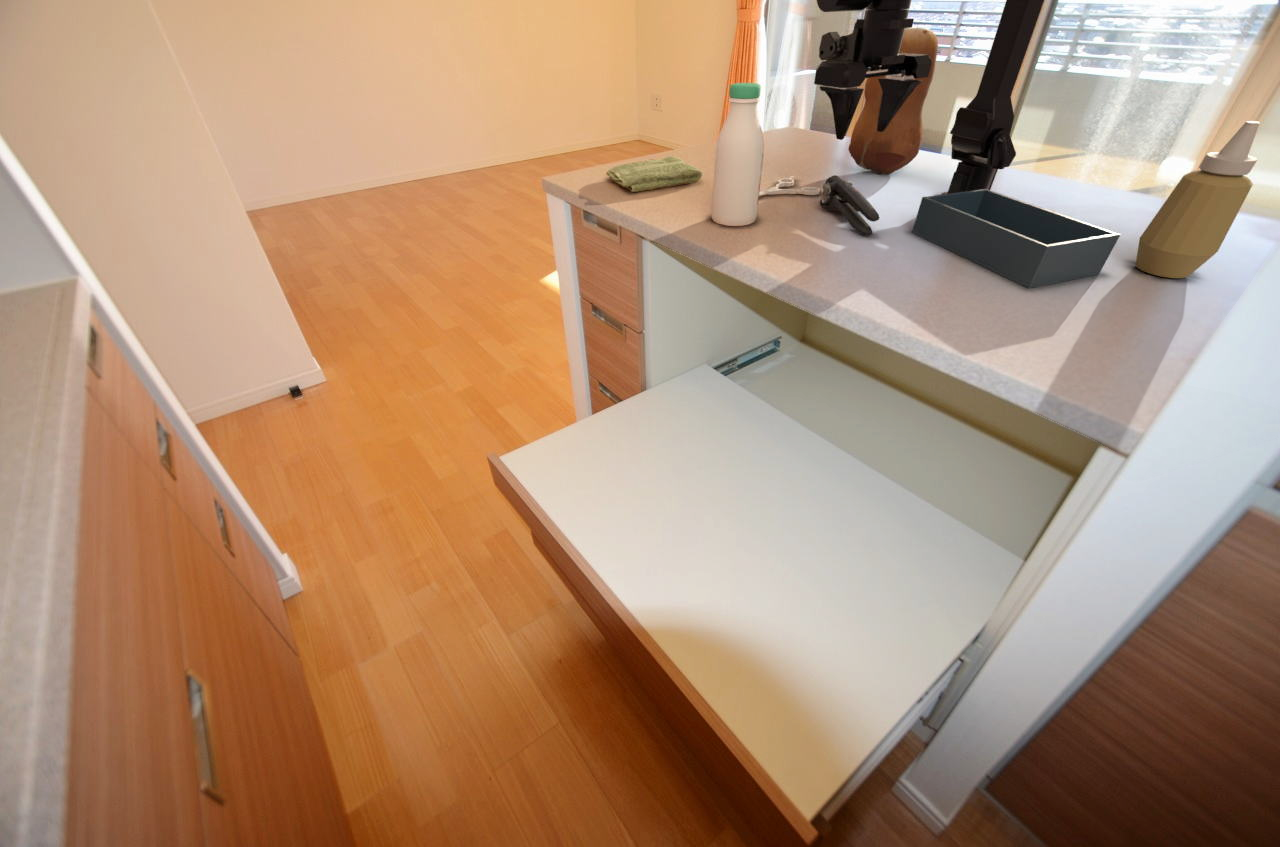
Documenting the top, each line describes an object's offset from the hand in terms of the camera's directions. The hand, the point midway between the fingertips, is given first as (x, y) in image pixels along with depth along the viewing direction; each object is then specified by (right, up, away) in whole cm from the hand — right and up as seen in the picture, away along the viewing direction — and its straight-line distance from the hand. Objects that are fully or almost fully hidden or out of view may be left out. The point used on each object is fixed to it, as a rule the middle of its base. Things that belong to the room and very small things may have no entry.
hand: (860, 135), depth 84 cm
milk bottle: (-18, -10, +9) cm, 23 cm away
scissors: (-9, -1, +20) cm, 22 cm away
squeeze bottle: (+37, -24, -11) cm, 45 cm away
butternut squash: (+16, +9, +31) cm, 36 cm away
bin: (+18, -20, -5) cm, 27 cm away
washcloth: (-32, +5, +29) cm, 43 cm away
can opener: (+1, -11, +8) cm, 13 cm away
